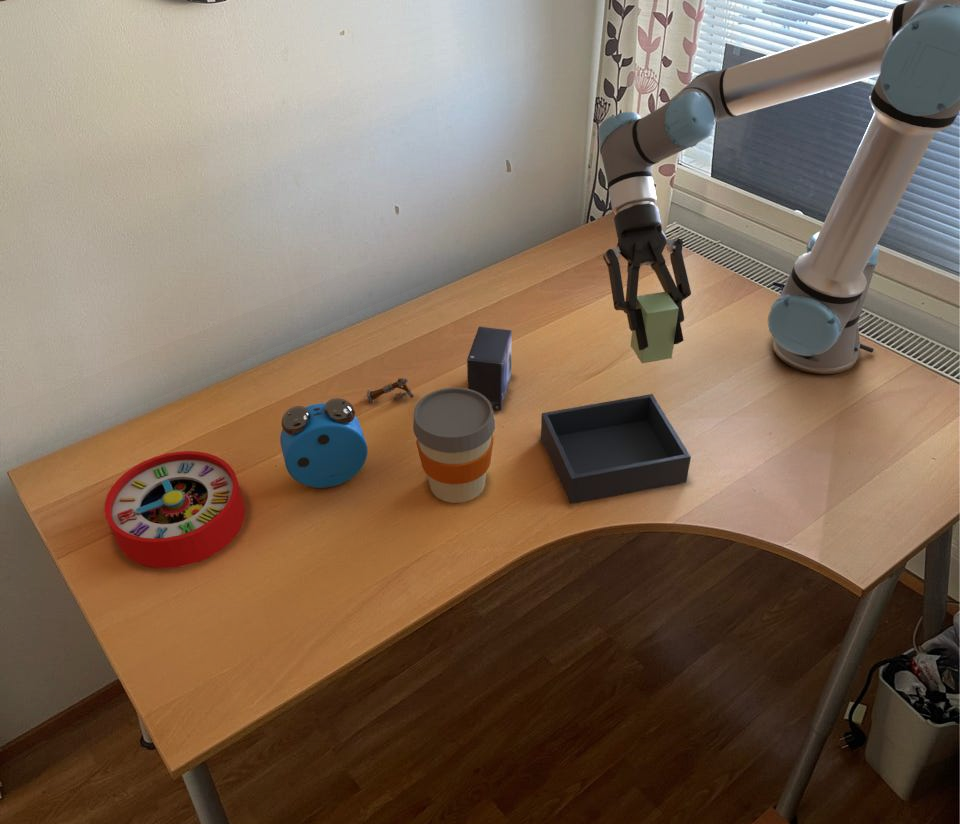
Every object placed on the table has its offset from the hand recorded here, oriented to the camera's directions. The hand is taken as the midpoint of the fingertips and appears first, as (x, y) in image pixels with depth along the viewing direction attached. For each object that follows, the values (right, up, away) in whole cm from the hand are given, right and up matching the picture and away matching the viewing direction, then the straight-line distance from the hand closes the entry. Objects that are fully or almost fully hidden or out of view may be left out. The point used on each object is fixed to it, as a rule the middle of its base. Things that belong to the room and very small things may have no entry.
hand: (661, 345), depth 152 cm
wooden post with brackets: (-47, -8, +12) cm, 49 cm away
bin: (-9, -19, -2) cm, 21 cm away
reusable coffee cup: (-34, -24, -5) cm, 42 cm away
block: (-1, 0, +5) cm, 5 cm away
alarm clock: (-55, -22, -3) cm, 60 cm away
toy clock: (-78, -29, -9) cm, 83 cm away
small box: (-29, -7, +12) cm, 32 cm away
